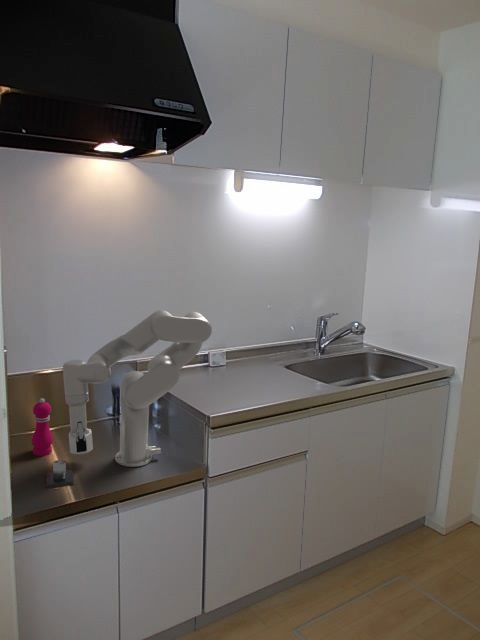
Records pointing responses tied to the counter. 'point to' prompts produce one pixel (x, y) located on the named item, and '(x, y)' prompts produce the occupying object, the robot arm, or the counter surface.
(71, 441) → the white hollow octagonal tube
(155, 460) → the counter surface
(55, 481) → the duct stub
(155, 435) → the counter surface
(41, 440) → the pepper mill
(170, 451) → the counter surface
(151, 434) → the counter surface
